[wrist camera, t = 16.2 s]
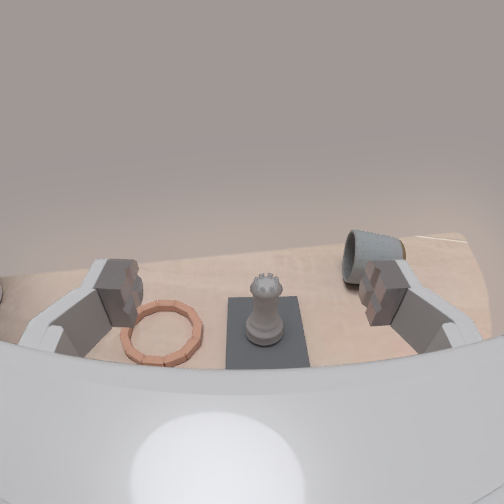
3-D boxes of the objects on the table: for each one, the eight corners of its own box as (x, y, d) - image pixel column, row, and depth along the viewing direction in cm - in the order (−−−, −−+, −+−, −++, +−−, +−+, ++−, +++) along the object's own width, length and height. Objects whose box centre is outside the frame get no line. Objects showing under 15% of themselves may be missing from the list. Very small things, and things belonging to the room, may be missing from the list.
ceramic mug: (398, 296, 40) (413, 252, 35) (345, 294, 41) (356, 247, 36) (382, 255, 48) (393, 215, 44) (337, 251, 49) (345, 210, 45)
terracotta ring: (114, 364, 30) (111, 359, 30) (133, 304, 38) (132, 299, 38) (198, 370, 30) (197, 365, 30) (205, 306, 39) (204, 300, 38)
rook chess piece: (249, 351, 32) (249, 300, 28) (241, 322, 36) (240, 270, 31) (288, 343, 33) (295, 292, 28) (277, 316, 37) (281, 264, 32)
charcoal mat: (225, 378, 30) (225, 375, 29) (228, 300, 40) (228, 297, 39) (310, 375, 30) (311, 372, 30) (296, 299, 40) (297, 296, 39)
